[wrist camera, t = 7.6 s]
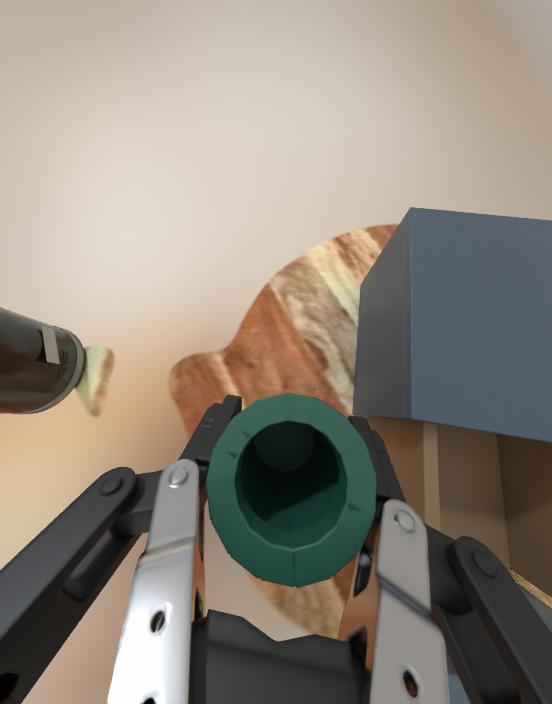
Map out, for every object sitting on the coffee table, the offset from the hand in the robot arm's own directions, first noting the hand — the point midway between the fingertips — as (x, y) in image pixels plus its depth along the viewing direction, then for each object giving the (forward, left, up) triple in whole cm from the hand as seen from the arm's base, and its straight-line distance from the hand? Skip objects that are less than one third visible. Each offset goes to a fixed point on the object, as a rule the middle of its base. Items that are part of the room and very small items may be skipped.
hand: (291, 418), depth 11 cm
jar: (0, -2, -6) cm, 7 cm away
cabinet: (+13, +8, -10) cm, 18 cm away
